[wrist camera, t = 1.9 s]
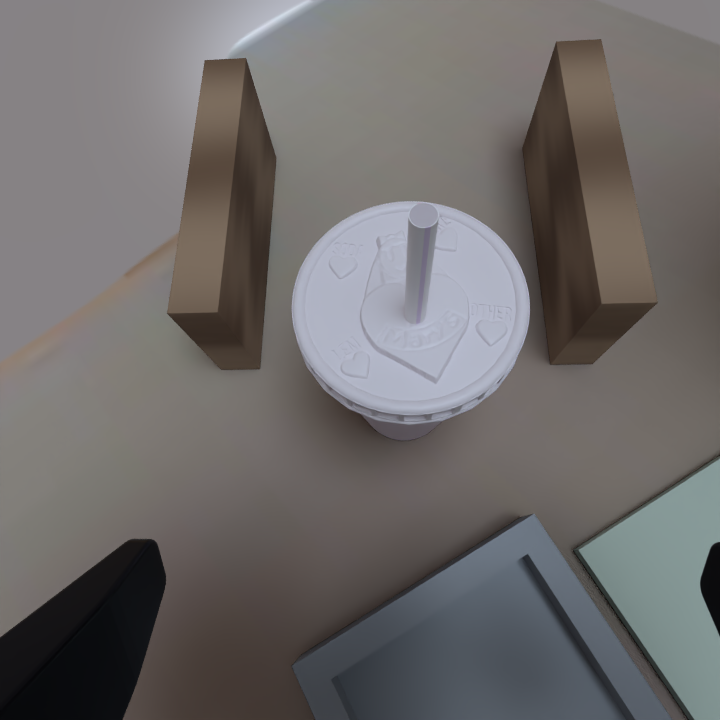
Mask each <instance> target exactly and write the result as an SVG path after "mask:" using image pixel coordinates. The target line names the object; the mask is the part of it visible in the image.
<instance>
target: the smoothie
mask: <svg viewBox="0 0 720 720" xmlns="http://www.w3.org/2000/svg"><path fill="white" fill-rule="evenodd" d="M529 316H530V300H529V292H528V287H527V283H526V280H525V277H524V274H523V271H522V269H521V267H520V265H519V263H518V261H517V259H516V258H515V256H514V254H513V253H512V251H511V250H510V249H509V247H508V246H507V245H506V243H505V242H504V241H503V240H502V239H501V238H500V237H499V236H498V235H497V234H496V233H495V232H494V231H492V230H491V229H490V228H489V227H487V226H486V225H485V224H483V223H482V222H480V221H479V220H477V219H475V218H474V217H472V216H470V215H468V214H466V213H464V212H461V211H459V210H456V209H454V208H450V207H447V206H444V205H439V204H434V203H428V202H415V201H406V202H394V203H387V204H382V205H378V206H374V207H371V208H368V209H365V210H363V211H360V212H358V213H356V214H354V215H352V216H350V217H348V218H346V219H344V220H343V221H341V222H340V223H338V224H337V225H335V226H334V227H333V228H331V229H330V230H329V231H328V232H327V233H326V234H325V235H323V237H322V238H321V239H320V240H319V241H318V242H317V243H316V244H315V245H314V247H313V248H312V249H311V251H310V252H309V254H308V255H307V257H306V258H305V260H304V262H303V264H302V266H301V268H300V270H299V273H298V276H297V278H296V282H295V286H294V291H293V297H292V319H293V325H294V330H295V334H296V337H297V343H298V345H299V348H300V351H301V353H302V356H303V359H304V361H305V364H306V366H307V368H308V369H309V371H310V372H311V373H312V375H313V376H314V377H315V379H316V380H317V381H318V383H319V384H320V385H321V387H322V388H323V389H324V391H326V392H327V393H328V394H330V395H331V396H332V397H334V398H335V399H336V400H337V401H339V402H340V403H341V404H343V405H344V406H345V407H347V408H348V409H350V410H352V411H355V412H357V413H360V414H361V415H362V416H363V417H364V418H365V419H366V420H367V422H368V423H369V424H370V425H371V426H372V427H373V428H374V429H375V430H376V431H377V432H379V433H380V434H382V435H384V436H386V437H388V438H391V439H395V440H413V439H417V438H420V437H422V436H424V435H426V434H428V433H429V432H430V431H432V430H433V429H434V428H435V427H436V426H437V425H439V424H440V423H441V422H442V421H444V420H446V419H449V418H451V417H453V416H456V415H458V414H461V413H463V412H466V411H468V410H471V409H472V408H474V407H475V406H476V405H478V404H479V403H480V402H482V401H483V400H484V399H485V398H487V397H488V396H489V395H491V394H492V393H493V392H495V391H496V390H497V389H498V387H499V386H500V384H501V383H502V382H503V380H504V379H505V378H506V376H507V375H508V374H509V372H510V371H511V370H512V368H513V367H514V365H515V362H516V359H517V356H518V354H519V352H520V350H521V348H522V345H523V343H524V340H525V337H526V334H527V329H528V325H529Z"/></svg>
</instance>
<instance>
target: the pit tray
mask: <svg viewBox="0 0 720 720" xmlns="http://www.w3.org/2000/svg"><path fill="white" fill-rule="evenodd" d="M292 669H293V671H294V673H295V675H296V678H297V680H298V682H299V684H300V686H301V689H302V691H303V693H304V695H305V698H306V700H307V702H308V704H309V706H310V709H311V711H312V713H313V715H314V718H315V720H672V719H671V717H670V716H669V714H668V713H667V711H666V710H665V708H664V707H663V705H662V704H661V702H660V701H659V699H658V698H657V696H656V695H655V693H654V692H653V690H652V689H651V687H650V686H649V684H648V683H647V681H646V680H645V678H644V677H643V675H642V674H641V672H640V671H639V669H638V668H637V666H636V665H635V663H634V662H633V660H632V659H631V657H630V656H629V654H628V653H627V651H626V650H625V649H624V647H623V646H622V644H621V643H620V641H619V640H618V638H617V637H616V635H615V634H614V632H613V631H612V629H611V628H610V626H609V625H608V623H607V622H606V620H605V619H604V617H603V616H602V614H601V613H600V611H599V610H598V608H597V607H596V605H595V604H594V602H593V601H592V599H591V598H590V596H589V595H588V593H587V592H586V590H585V589H584V587H583V586H582V584H581V583H580V581H579V580H578V578H577V577H576V575H575V574H574V572H573V571H572V569H571V568H570V566H569V565H568V563H567V562H566V561H565V559H564V558H563V556H562V555H561V553H560V552H559V550H558V549H557V547H556V546H555V544H554V543H553V541H552V540H551V538H550V537H549V535H548V534H547V532H546V531H545V529H544V528H543V526H542V525H541V523H540V522H539V520H538V519H537V517H536V516H535V514H531V515H527V516H523V517H520V518H519V519H517V520H516V521H514V522H512V523H511V524H509V525H508V526H506V527H505V528H503V529H501V530H500V531H498V532H497V533H495V534H493V535H492V536H490V537H489V538H487V539H485V540H484V541H482V542H481V543H479V544H477V545H476V546H474V547H473V548H471V549H469V550H468V551H466V552H465V553H463V554H461V555H460V556H458V557H457V558H455V559H453V560H452V561H450V562H449V563H447V564H445V565H444V566H442V567H441V568H439V569H437V570H436V571H434V572H433V573H431V574H429V575H428V576H426V577H425V578H423V579H422V580H420V581H418V582H417V583H415V584H414V585H412V586H410V587H409V588H407V589H406V590H404V591H402V592H401V593H399V594H398V595H396V596H394V597H393V598H391V599H390V600H388V601H386V602H385V603H383V604H382V605H380V606H378V607H377V608H375V609H374V610H372V611H370V612H369V613H367V614H366V615H364V616H362V617H361V618H359V619H358V620H356V621H354V622H353V623H351V624H350V625H348V626H346V627H345V628H343V629H342V630H340V631H339V632H337V633H335V634H334V635H332V636H331V637H329V638H327V639H326V640H324V641H323V642H321V643H319V644H318V645H316V646H315V647H313V648H311V649H310V650H308V651H307V652H305V653H303V654H302V655H301V656H300V657H299V658H298V659H297V660H296V661H295V662H294V664H293V665H292Z"/></svg>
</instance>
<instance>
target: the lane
mask: <svg viewBox="0 0 720 720" xmlns="http://www.w3.org/2000/svg"><path fill="white" fill-rule="evenodd" d="M523 156H524V163H525V171H526V179H527V186H528V194H529V202H530V210H531V217H532V225H533V233H534V240H535V248H536V256H537V264H538V271H539V279H540V287H541V295H542V302H543V310H544V318H545V325H546V333H547V341H548V349H549V356H550V364H551V365H554V364H593V363H594V362H595V361H596V360H597V359H598V358H599V357H600V356H601V355H602V354H603V353H605V352H606V351H607V350H608V349H609V348H610V347H611V346H612V345H613V344H614V343H615V342H616V341H617V340H618V339H619V338H621V337H622V336H623V335H624V334H625V333H626V332H627V331H628V330H629V329H630V328H631V327H632V326H633V325H634V324H635V323H636V322H638V321H639V320H640V319H641V318H642V317H643V316H644V315H645V314H646V313H647V312H648V311H649V310H650V309H651V308H652V307H653V306H655V305H656V304H657V303H658V301H657V296H656V292H655V287H654V283H653V278H652V273H651V269H650V264H649V259H648V255H647V250H646V245H645V241H644V236H643V231H642V227H641V222H640V218H639V213H638V208H637V204H636V199H635V194H634V190H633V185H632V180H631V176H630V171H629V166H628V162H627V157H626V153H625V148H624V143H623V139H622V134H621V129H620V125H619V120H618V115H617V111H616V106H615V101H614V97H613V92H612V88H611V83H610V78H609V74H608V69H607V64H606V60H605V55H604V50H603V46H602V41H601V39H598V40H579V41H560V42H556V44H555V47H554V51H553V54H552V57H551V60H550V63H549V66H548V69H547V73H546V76H545V79H544V82H543V85H542V88H541V91H540V95H539V98H538V101H537V104H536V107H535V110H534V113H533V117H532V120H531V123H530V126H529V129H528V132H527V135H526V139H525V142H524V145H523ZM275 168H276V155H275V152H274V149H273V146H272V142H271V139H270V136H269V132H268V129H267V126H266V122H265V119H264V116H263V112H262V109H261V106H260V103H259V99H258V96H257V93H256V89H255V86H254V83H253V79H252V76H251V73H250V69H249V66H248V63H247V60H246V58H239V59H221V60H205V63H204V70H203V76H202V83H201V90H200V96H199V103H198V110H197V117H196V123H195V130H194V137H193V144H192V150H191V157H190V164H189V170H188V177H187V184H186V190H185V197H184V204H183V211H182V217H181V224H180V231H179V237H178V244H177V251H176V257H175V264H174V271H173V278H172V284H171V291H170V298H169V304H168V311H167V314H168V315H169V316H170V317H171V318H172V319H173V320H174V321H175V322H176V323H177V324H178V325H179V326H180V327H181V328H182V329H183V330H184V331H185V332H186V334H187V335H188V336H189V337H190V338H191V339H192V340H193V341H194V342H195V343H196V344H197V345H198V346H199V347H200V348H201V349H202V350H203V351H204V352H205V353H206V354H207V355H208V356H209V357H210V358H211V359H212V361H213V362H214V363H215V364H216V365H217V366H218V367H219V368H220V369H221V370H231V369H260V362H261V349H262V336H263V323H264V310H265V297H266V284H267V271H268V259H269V246H270V233H271V220H272V207H273V194H274V181H275Z"/></svg>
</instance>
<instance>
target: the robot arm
mask: <svg viewBox="0 0 720 720" xmlns="http://www.w3.org/2000/svg"><path fill="white" fill-rule="evenodd" d="M165 585H166V574H165V570H164V566H163V562H162V559H161V555H160V551H159V548H158V545H157V543H156V542H155V541H154V540H152V539H131V540H128V541H127V542H125V543H124V544H122V545H121V546H120V547H119V548H117V549H116V550H115V551H113V552H112V553H111V554H109V555H108V556H107V557H105V558H104V559H103V560H101V561H100V562H99V563H97V564H96V565H95V566H94V567H92V568H91V569H90V570H88V571H87V572H86V573H84V574H83V575H82V576H80V577H79V578H78V579H76V580H75V581H74V582H72V583H71V584H70V585H69V586H67V587H66V588H65V589H63V590H62V591H61V592H59V593H58V594H57V595H55V596H54V597H53V598H51V599H50V600H49V601H47V602H46V603H45V604H44V605H42V606H41V607H40V608H38V609H37V610H36V611H34V612H33V613H32V614H30V615H29V616H28V617H26V618H25V619H24V620H22V621H21V622H20V623H18V624H17V625H16V626H15V627H13V628H12V629H11V630H9V631H8V632H7V633H5V634H4V635H3V636H1V637H0V720H122V719H123V717H124V714H125V712H126V709H127V707H128V704H129V702H130V699H131V697H132V694H133V691H134V689H135V686H136V684H137V681H138V677H139V674H140V671H141V668H142V665H143V661H144V658H145V655H146V651H147V648H148V644H149V641H150V638H151V634H152V631H153V627H154V624H155V621H156V617H157V614H158V610H159V607H160V604H161V600H162V597H163V593H164V590H165ZM700 589H701V593H702V596H703V599H704V601H705V603H706V606H707V608H708V610H709V613H710V615H711V617H712V620H713V622H714V624H715V627H716V629H717V631H718V634H719V636H720V542H717V543H714V544H713V545H712V546H711V548H710V551H709V554H708V557H707V560H706V563H705V566H704V569H703V572H702V575H701V579H700Z"/></svg>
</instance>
